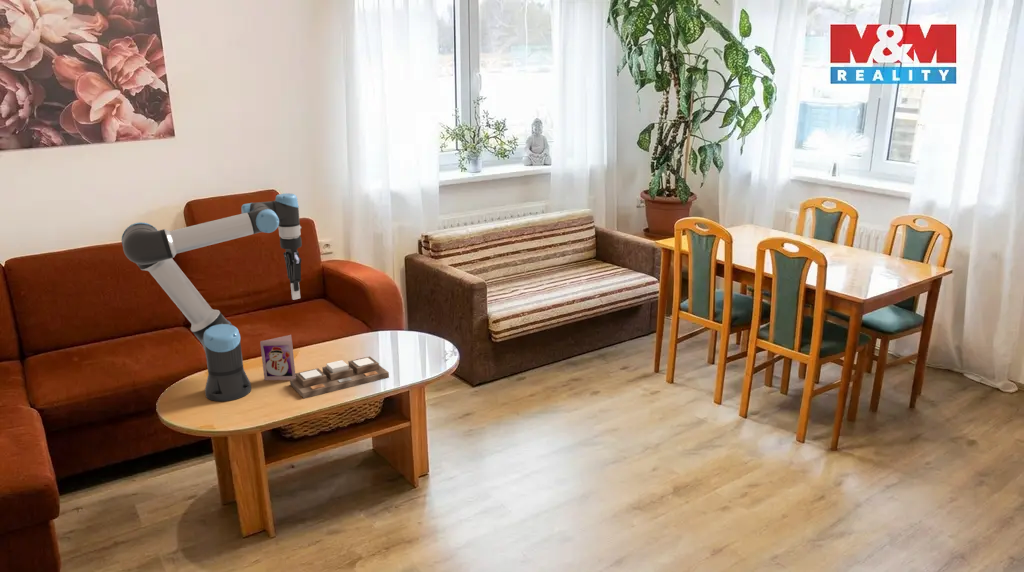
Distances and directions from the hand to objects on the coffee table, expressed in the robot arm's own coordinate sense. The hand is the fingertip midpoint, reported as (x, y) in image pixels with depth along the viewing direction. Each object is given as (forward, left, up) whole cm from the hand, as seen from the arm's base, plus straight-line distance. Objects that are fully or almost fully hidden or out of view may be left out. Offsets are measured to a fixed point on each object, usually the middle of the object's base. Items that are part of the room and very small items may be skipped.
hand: (296, 298), depth 294 cm
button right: (+16, -21, -24) cm, 36 cm away
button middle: (+6, -21, -23) cm, 32 cm away
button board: (+6, -23, -26) cm, 36 cm away
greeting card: (-10, -7, -27) cm, 29 cm away
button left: (-4, -21, -24) cm, 33 cm away
